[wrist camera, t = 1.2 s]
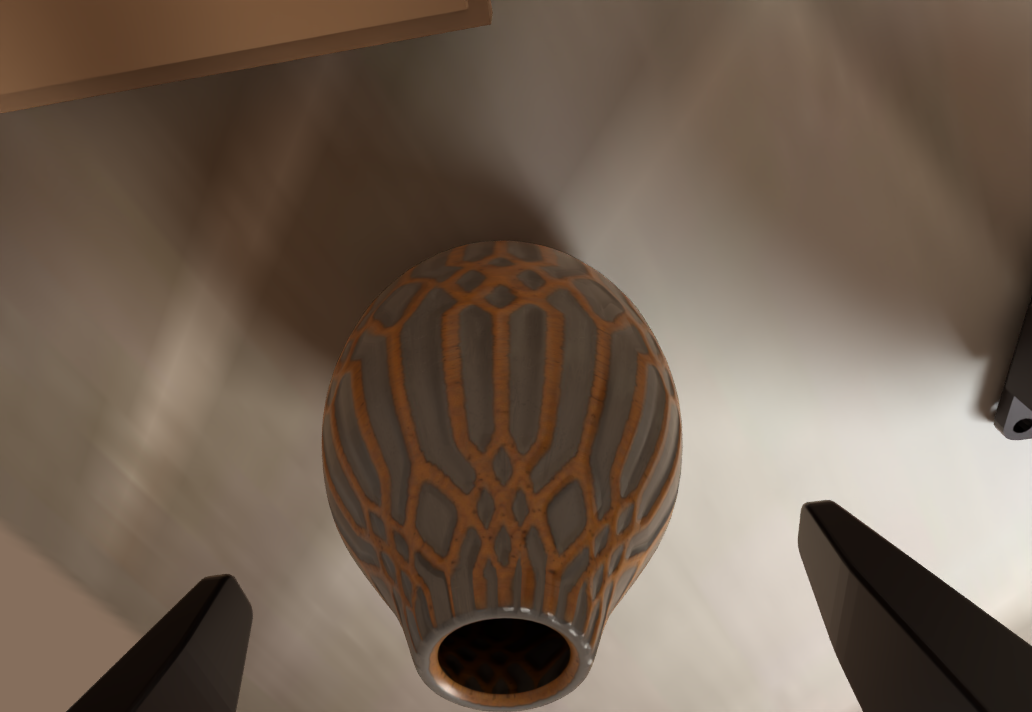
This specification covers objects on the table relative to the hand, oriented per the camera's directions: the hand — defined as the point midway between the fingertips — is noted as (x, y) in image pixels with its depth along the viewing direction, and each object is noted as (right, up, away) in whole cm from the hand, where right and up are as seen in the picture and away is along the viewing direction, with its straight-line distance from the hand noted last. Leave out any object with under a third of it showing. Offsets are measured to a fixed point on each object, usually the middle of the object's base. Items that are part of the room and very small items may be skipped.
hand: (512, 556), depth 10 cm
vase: (0, +4, +6) cm, 7 cm away
